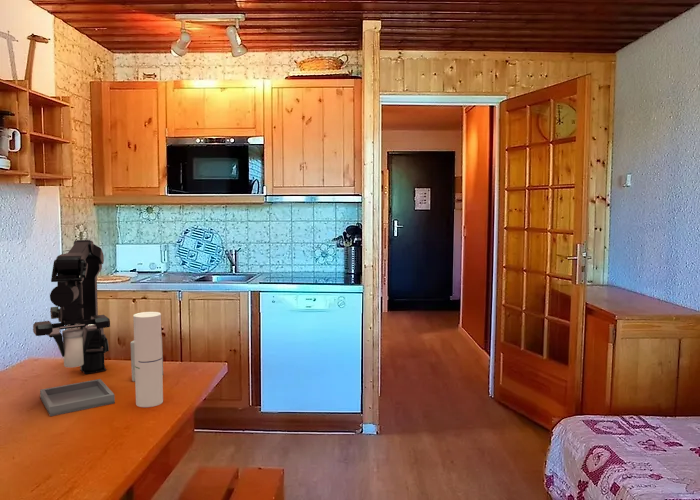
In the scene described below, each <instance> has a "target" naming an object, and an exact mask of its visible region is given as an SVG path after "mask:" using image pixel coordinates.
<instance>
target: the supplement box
mask: <svg viewBox="0 0 700 500" xmlns="http://www.w3.org/2000/svg"><path fill="white" fill-rule="evenodd" d="M129 343H130V345H129V346H130V362H131V365H130V366H131V381H132V382H135V354H134V340H132V341H130V342H129ZM163 351H164V350H162V376H164V356H163V355H164V354H163Z"/></svg>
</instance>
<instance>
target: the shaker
mask: <svg viewBox="0 0 700 500" xmlns="http://www.w3.org/2000/svg"><path fill="white" fill-rule="evenodd" d="M61 334H62V339H63V346H64V357H63V366H64V368H77V367H80V366H82V365H83V364H84V356H83V329H80V327H77V328H69V329H62V331H61Z"/></svg>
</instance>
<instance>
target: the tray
mask: <svg viewBox="0 0 700 500" xmlns="http://www.w3.org/2000/svg"><path fill="white" fill-rule="evenodd" d="M39 395H40V396H39V397H40V398H39V399H40V400H41V402H42V404H43V406H44V407H45V410H46V411H47V413H48V415H49V417H54V416H60V415H65V414H69V413H74V412H79V411H84V410H88V409H94V408H98V407H102V406H109V405H113V404H115V402H116V401H115V397H116V396H115V393H114V392H113V391H112V390H111V389H110V388H109V386H107V384H106V383H105V382H104V381H103V380H102V379H101V378H99V379H92V380H87V381H81V382H75V383H69V384H64V385H58V386H53V387H46V388H42V389H39Z"/></svg>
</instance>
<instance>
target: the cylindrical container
mask: <svg viewBox="0 0 700 500" xmlns="http://www.w3.org/2000/svg"><path fill="white" fill-rule="evenodd" d="M132 319H133V320H132V321H133V341H134V354H135V381H134V383H135V387H134V388H135V405H136V406H137V407H139V408H152V407H156V406H160V405H162V404H163V403H164V389H163V388H164V385H163V384H164V383H163V379H164V378H163V375H162V351H163V337H162V313H161V312H159V311H142V312H138V313H134V314H133V318H132Z"/></svg>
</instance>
